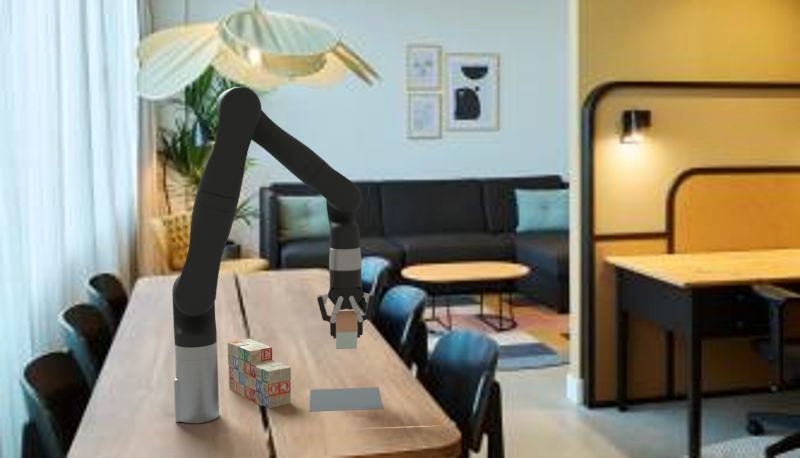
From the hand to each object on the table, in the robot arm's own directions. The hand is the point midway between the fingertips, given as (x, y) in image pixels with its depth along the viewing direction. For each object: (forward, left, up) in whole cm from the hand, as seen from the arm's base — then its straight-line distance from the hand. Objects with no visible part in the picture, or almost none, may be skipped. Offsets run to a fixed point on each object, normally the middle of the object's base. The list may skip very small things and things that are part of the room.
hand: (346, 337), depth 200 cm
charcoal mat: (-1, 0, -16) cm, 16 cm away
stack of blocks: (-21, +6, -16) cm, 27 cm away
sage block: (0, +4, -2) cm, 5 cm away
